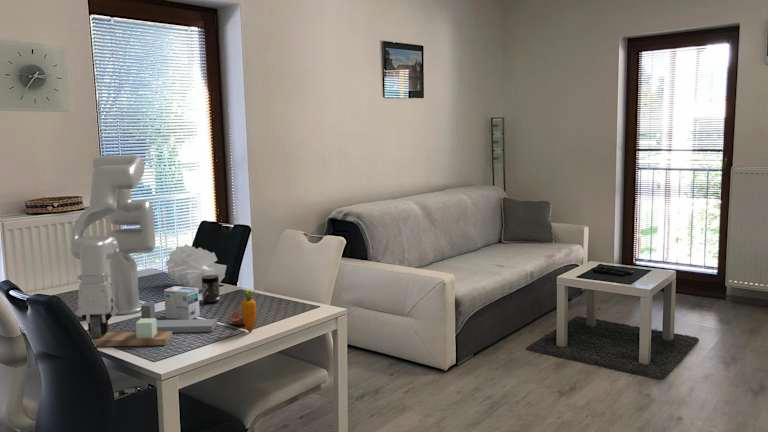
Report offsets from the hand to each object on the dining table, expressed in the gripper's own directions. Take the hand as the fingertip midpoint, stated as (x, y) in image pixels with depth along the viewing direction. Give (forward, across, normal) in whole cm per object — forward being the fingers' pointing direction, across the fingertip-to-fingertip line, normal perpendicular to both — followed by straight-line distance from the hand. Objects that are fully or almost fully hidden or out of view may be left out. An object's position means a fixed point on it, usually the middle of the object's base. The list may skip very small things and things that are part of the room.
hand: (98, 333), depth 213 cm
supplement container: (+4, +26, +48) cm, 54 cm away
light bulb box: (+4, +20, +28) cm, 34 cm away
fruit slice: (+4, +42, +17) cm, 46 cm away
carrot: (+4, +48, +8) cm, 48 cm away
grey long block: (+3, +22, +13) cm, 26 cm away
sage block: (+1, +16, 0) cm, 16 cm away
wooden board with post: (+3, +10, 0) cm, 11 cm away
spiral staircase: (+4, +14, +73) cm, 74 cm away
